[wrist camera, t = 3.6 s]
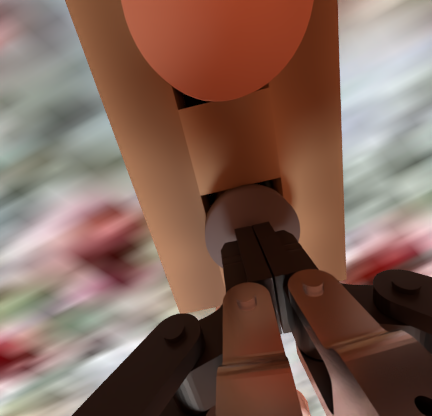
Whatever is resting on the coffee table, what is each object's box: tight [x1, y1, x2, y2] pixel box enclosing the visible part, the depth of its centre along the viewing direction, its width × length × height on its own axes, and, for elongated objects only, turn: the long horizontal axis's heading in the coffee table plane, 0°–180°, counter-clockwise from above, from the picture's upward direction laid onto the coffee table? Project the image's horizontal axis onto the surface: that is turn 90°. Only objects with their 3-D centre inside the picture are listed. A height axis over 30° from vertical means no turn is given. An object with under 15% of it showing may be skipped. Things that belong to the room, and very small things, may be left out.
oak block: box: [65, 0, 346, 314], centre depth 12 cm, size 10×26×6 cm, turn 13°
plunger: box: [205, 183, 300, 268], centre depth 14 cm, size 4×4×7 cm
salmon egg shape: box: [121, 0, 314, 102], centre depth 9 cm, size 4×4×7 cm
